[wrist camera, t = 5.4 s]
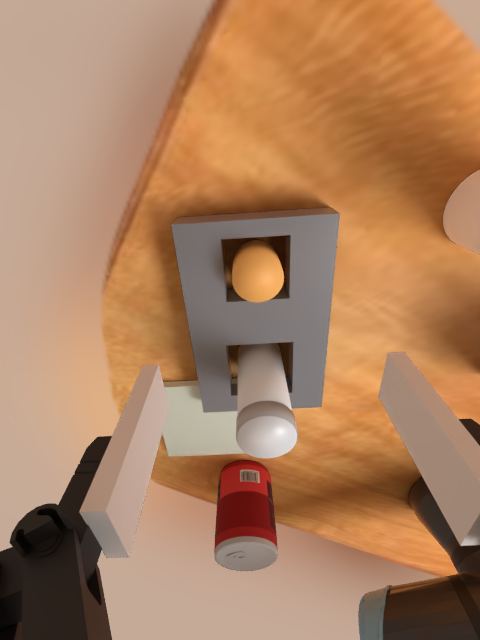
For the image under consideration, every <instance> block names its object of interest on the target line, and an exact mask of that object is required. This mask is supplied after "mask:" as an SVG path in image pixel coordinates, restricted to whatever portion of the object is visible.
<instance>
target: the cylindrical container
mask: <svg viewBox="0 0 480 640" xmlns="http://www.w3.org/2000/svg"><path fill="white" fill-rule="evenodd" d="M443 226H444V230H445V233H446V235H447V236H448V238H449V239H450V240H451V241H453V242H454V243H455V244H458V245H460V246H462V247H464V248H466V249H468V250H471V251H473V252H475V253H477V254H479V255H480V170H478V171H476V172H474V173H473V174H471V175H470V176H468V177H467V178H466V179H465V180H464V181H462V182H461V183H460V184H459V186H458V187H457V188H456V189H455V190H454V192H453V193H452V195H451V196H450V198H449V200H448V202H447V204H446V207H445V210H444V215H443Z"/></svg>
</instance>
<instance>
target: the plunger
mask: <svg viewBox="0 0 480 640" xmlns="http://www.w3.org/2000/svg"><path fill="white" fill-rule="evenodd" d="M283 282H284V273H283V269H282V266H281V263H280V261H279V258H278V255H277V253H276V251H275V249H274V248H273V247H272V246H271V245H270V244H268V243H266V242H264V241H259V240H254V241H249V242H247V243H245V244H243V245H242V246H240V247H239V248H238V250H237V251H236V253H235V255H234V258H233V267H232V284H233V287H234V289H235V291H236V293H237V294H238V295H239V296H240V297H242V298H243V299H245V300H247V301H250V302H256V303H259V302H265V301H268V300H270V299H272V298H273V297H275V296H276V295H277V294H278V293H279V291H280V290H281V288H282V286H283Z"/></svg>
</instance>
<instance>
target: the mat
mask: <svg viewBox="0 0 480 640" xmlns="http://www.w3.org/2000/svg"><path fill="white" fill-rule="evenodd" d="M232 380H233V381H232V384H236V383H237V384H238V381H237V380H238V379H237V378H232ZM163 384H164V388H165V392H166V396H167V400H168V404H169V410H168V413H167V417H166V421H165V425H164V429H163V432H162V434H163V438H164V441H165V445H166V449H167V452H168V456H169V457H175V456H198V455H220V454H243V453H245V452H244V451H243V450H242V449H241V448H240V447H239V445H238V443H237V441H236V419H237V411H229V412H208V413H204V412H203V407H202V401H201V395H200V389H199V383H198V380H191V381H172V382H163Z"/></svg>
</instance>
